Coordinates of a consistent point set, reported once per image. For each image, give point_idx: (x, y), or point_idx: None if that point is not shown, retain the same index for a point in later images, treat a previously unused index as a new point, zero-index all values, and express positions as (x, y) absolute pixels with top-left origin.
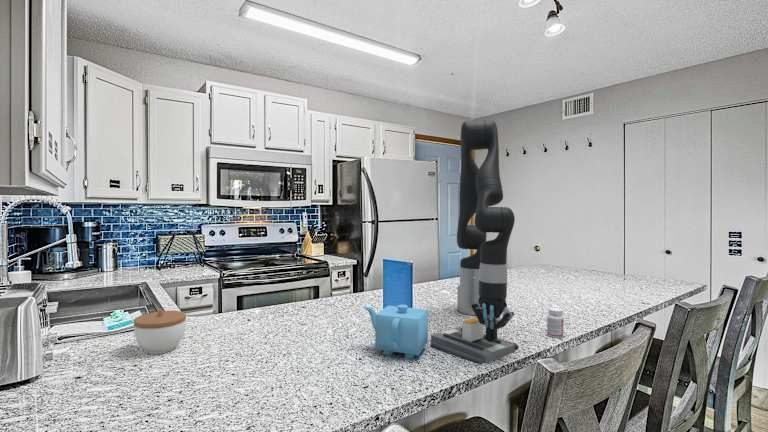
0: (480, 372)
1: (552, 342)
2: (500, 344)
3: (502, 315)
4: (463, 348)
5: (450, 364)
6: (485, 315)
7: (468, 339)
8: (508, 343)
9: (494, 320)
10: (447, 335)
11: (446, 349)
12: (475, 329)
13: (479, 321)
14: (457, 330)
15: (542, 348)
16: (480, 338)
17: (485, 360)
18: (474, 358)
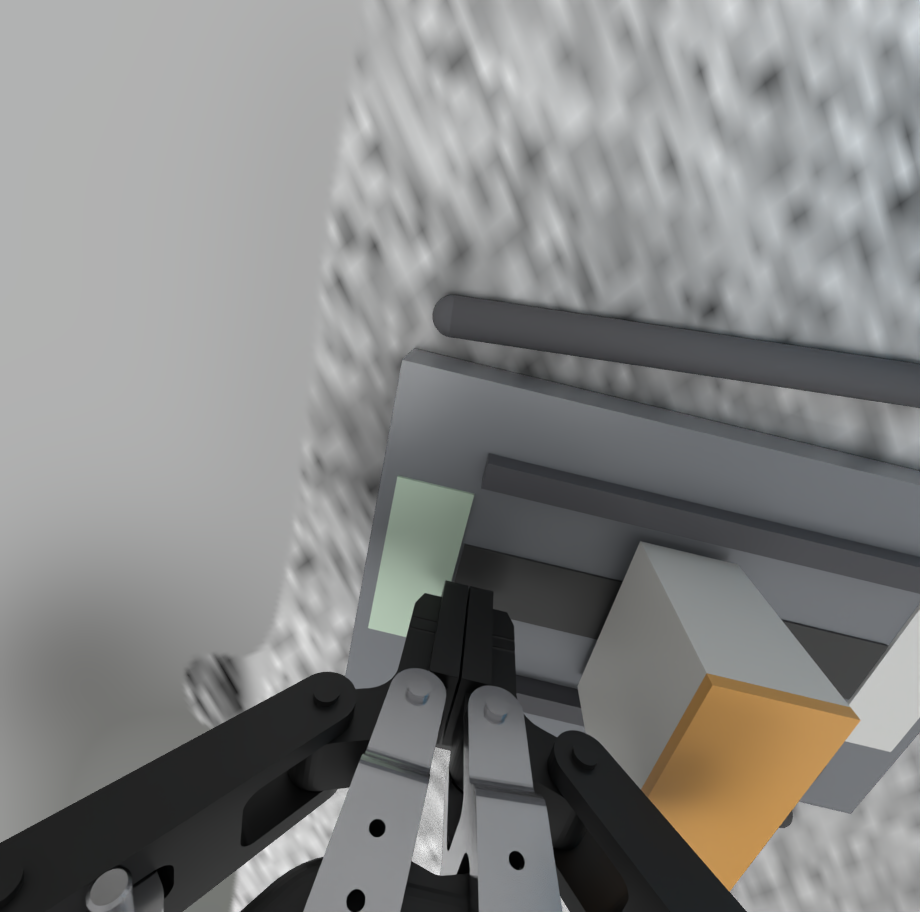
0: (362, 117)
1: (268, 861)
2: None
3: (122, 882)
4: (661, 419)
5: (669, 87)
6: (506, 854)
7: (669, 556)
8: None
9: (355, 784)
10: (909, 563)
11: (818, 352)
12: (643, 677)
13: (612, 762)
14: None
15: None
16: (591, 657)
17: (417, 352)
18: (499, 305)
